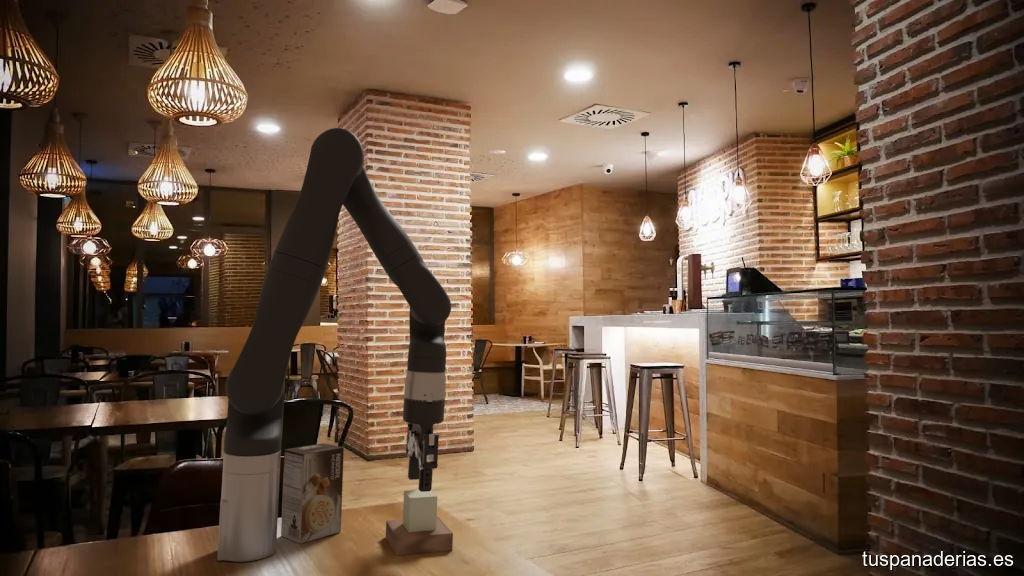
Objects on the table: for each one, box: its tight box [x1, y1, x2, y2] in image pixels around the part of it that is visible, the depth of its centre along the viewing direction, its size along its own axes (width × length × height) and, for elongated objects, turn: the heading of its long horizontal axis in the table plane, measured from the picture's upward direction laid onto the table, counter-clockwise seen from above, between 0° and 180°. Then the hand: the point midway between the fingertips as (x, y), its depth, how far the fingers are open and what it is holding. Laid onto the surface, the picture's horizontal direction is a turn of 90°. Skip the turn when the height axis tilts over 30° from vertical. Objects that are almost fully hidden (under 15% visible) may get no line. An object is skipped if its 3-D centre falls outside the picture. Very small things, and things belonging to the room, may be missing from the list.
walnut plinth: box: [385, 516, 454, 557], centre depth 122 cm, size 10×10×3 cm
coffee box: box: [280, 442, 345, 544], centre depth 125 cm, size 9×6×16 cm
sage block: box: [402, 489, 438, 532], centre depth 122 cm, size 5×5×6 cm
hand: (419, 485), depth 122 cm, fingers open, 8 cm apart
